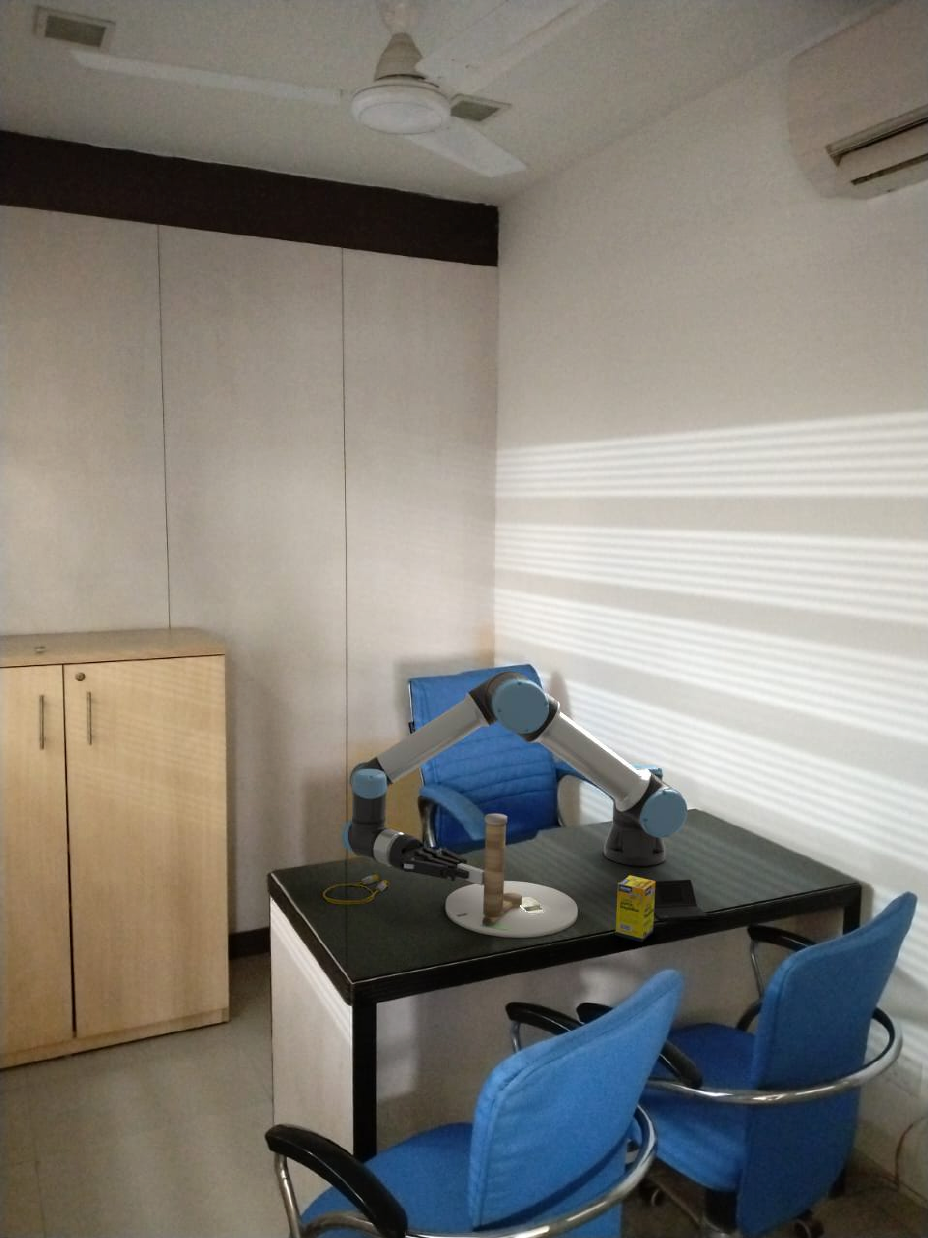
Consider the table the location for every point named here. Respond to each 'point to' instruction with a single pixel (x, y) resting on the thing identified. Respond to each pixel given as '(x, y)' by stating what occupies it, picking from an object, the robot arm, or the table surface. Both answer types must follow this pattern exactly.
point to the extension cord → (364, 881)
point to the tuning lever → (496, 871)
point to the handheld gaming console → (676, 901)
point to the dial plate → (513, 911)
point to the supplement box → (635, 908)
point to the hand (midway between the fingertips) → (483, 878)
